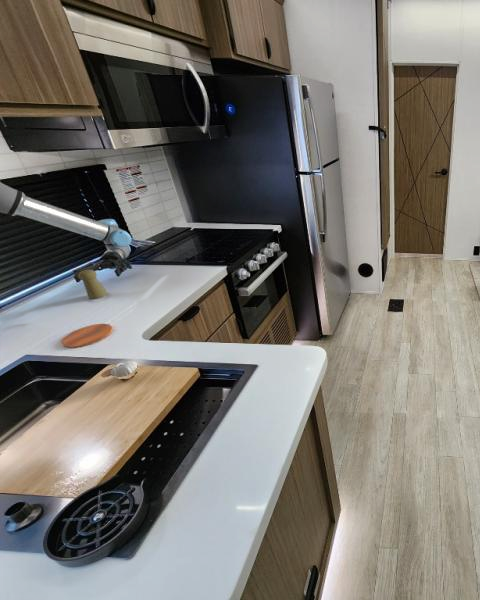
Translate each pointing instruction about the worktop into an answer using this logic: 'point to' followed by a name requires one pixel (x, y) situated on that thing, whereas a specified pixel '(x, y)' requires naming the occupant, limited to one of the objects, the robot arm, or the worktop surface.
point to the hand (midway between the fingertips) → (96, 276)
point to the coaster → (86, 335)
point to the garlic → (124, 368)
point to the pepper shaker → (92, 284)
